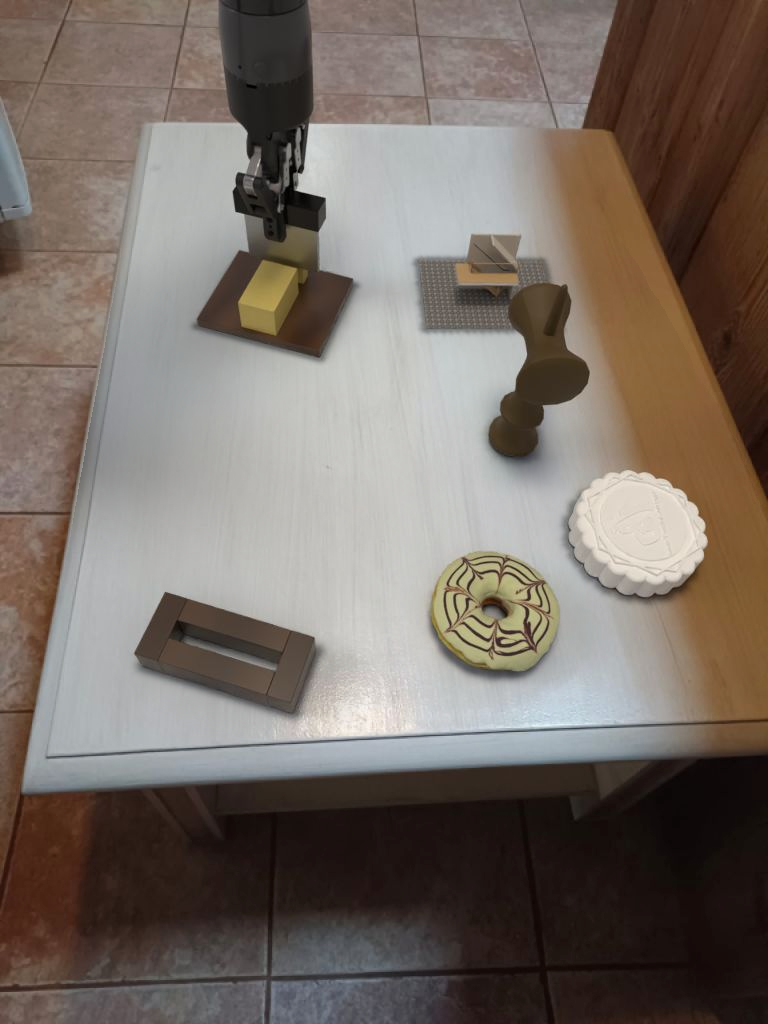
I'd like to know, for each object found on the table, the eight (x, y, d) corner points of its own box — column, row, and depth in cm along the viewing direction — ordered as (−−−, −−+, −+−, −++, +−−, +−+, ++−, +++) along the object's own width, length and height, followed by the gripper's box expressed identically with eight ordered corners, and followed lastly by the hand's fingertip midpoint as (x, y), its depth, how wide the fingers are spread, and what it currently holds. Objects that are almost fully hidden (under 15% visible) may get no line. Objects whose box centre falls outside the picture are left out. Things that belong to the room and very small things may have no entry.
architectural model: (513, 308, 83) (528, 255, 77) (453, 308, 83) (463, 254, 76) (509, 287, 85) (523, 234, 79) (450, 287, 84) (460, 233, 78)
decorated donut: (543, 693, 60) (554, 678, 57) (417, 660, 61) (421, 644, 57) (558, 582, 65) (569, 563, 62) (442, 554, 66) (447, 533, 63)
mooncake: (557, 486, 71) (567, 465, 68) (676, 486, 72) (691, 465, 68) (579, 599, 64) (591, 581, 61) (709, 597, 65) (727, 580, 62)
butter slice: (270, 275, 82) (268, 250, 79) (275, 267, 83) (273, 241, 80) (303, 284, 82) (302, 258, 79) (308, 275, 83) (307, 250, 80)
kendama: (486, 478, 71) (535, 328, 54) (478, 401, 76) (520, 242, 59) (547, 479, 71) (614, 330, 54) (535, 403, 76) (593, 245, 59)
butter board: (197, 325, 79) (196, 318, 78) (240, 256, 85) (239, 249, 84) (319, 357, 78) (319, 351, 77) (353, 285, 84) (353, 278, 83)
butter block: (241, 327, 78) (237, 302, 75) (265, 284, 81) (262, 259, 78) (276, 336, 78) (274, 311, 75) (298, 293, 81) (297, 268, 78)
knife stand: (142, 666, 59) (133, 653, 56) (171, 606, 62) (164, 591, 59) (292, 713, 58) (290, 702, 55) (315, 650, 61) (315, 637, 58)
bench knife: (241, 260, 79) (232, 191, 72) (249, 246, 80) (241, 177, 73) (319, 279, 78) (318, 211, 71) (326, 265, 79) (326, 197, 72)
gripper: (256, 8, 65) (271, 183, 79) (191, 87, 57) (220, 264, 72) (336, 25, 64) (336, 199, 79) (279, 108, 57) (291, 282, 72)
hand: (280, 229), depth 75 cm, fingers closed on bench knife, 2 cm apart
